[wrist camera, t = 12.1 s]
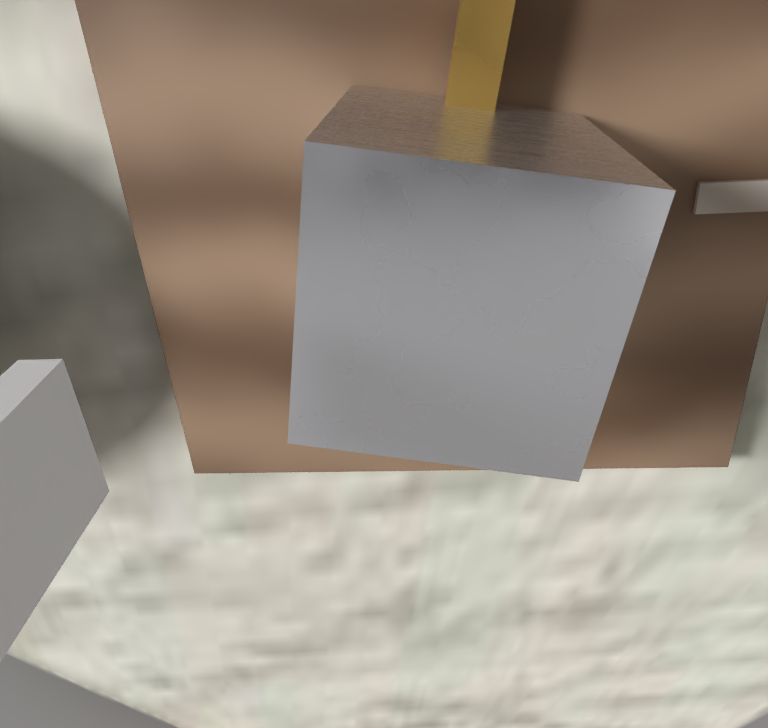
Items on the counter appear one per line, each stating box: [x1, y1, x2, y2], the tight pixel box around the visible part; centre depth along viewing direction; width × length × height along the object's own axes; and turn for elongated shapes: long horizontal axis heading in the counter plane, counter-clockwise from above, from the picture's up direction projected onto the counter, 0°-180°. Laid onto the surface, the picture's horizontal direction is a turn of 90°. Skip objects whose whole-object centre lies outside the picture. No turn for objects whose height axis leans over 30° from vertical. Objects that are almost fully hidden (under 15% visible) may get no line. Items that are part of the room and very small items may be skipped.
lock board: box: [75, 0, 768, 473], centre depth 23 cm, size 22×22×2 cm
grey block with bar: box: [287, 0, 676, 482], centre depth 17 cm, size 11×7×9 cm, turn 173°
